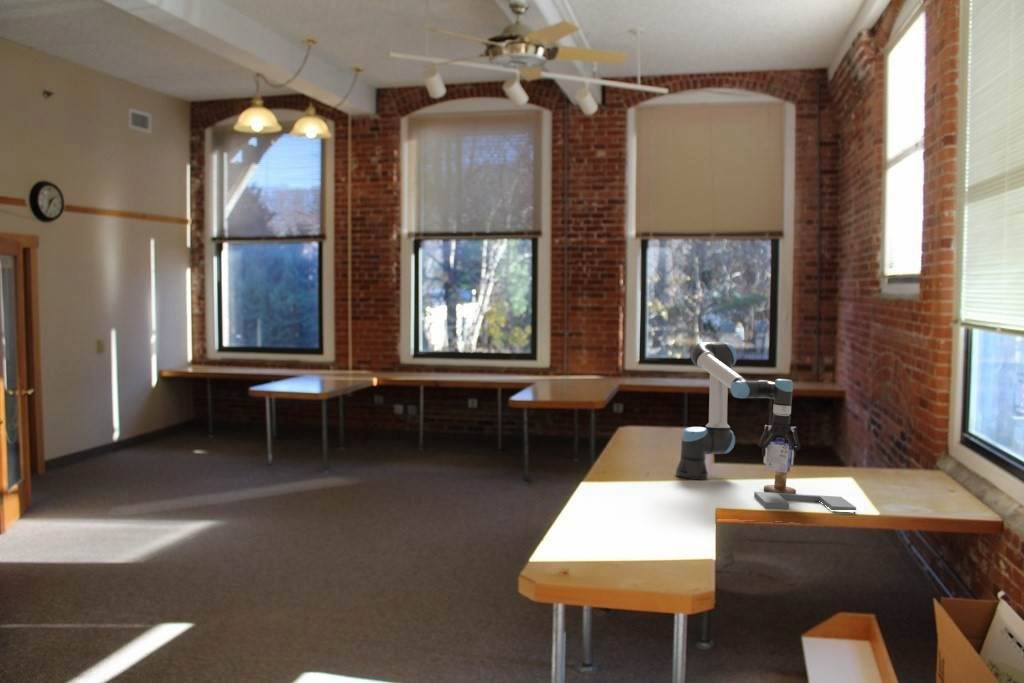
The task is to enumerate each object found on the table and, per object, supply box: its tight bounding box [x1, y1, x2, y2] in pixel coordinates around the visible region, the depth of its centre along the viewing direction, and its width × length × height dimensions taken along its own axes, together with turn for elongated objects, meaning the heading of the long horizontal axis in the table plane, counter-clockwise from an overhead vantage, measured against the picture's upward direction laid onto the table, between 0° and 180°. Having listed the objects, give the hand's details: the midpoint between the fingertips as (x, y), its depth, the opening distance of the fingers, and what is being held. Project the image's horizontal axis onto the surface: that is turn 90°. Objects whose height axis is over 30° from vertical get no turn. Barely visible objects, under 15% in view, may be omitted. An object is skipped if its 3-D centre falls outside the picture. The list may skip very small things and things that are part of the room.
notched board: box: [753, 491, 857, 511], centre depth 375 cm, size 38×18×2 cm, turn 89°
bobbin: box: [763, 471, 797, 494], centre depth 396 cm, size 14×14×16 cm
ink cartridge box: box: [764, 436, 793, 474], centre depth 383 cm, size 10×6×14 cm, turn 59°
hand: (778, 464), depth 383 cm, fingers closed on ink cartridge box, 11 cm apart
